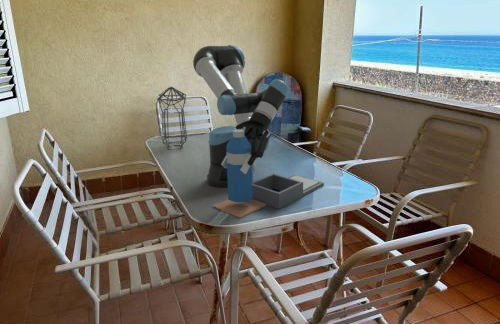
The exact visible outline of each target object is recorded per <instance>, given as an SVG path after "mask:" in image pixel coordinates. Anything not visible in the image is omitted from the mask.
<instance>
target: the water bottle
mask: <svg viewBox="0 0 500 324" xmlns="http://www.w3.org/2000/svg"><path fill="white" fill-rule="evenodd" d="M226 151H227V177H228V187H227V194H228V195H227V199H228V200H231V201H233V202H247V201H249V200H251V199H252V182H253V172H252V171H253V165H252V166H250V167H249V169H248V171H247V173H246V174H244V173H243V172H241V171H240V169H241V168H242V166H243V164H244V162H245V160H246V159H247V157H248V155H249V154H251V152H252V151H251V143H250V142H249V141H248V140H247V138H246V137H245V136H244V130H242V129H236V130H233V137H232V138H231V140H230V141H229V143H228V144H227V147H226ZM251 155H252V154H251Z"/></svg>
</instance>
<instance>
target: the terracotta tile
mask: <svg viewBox="0 0 500 324" xmlns="http://www.w3.org/2000/svg"><path fill="white" fill-rule="evenodd" d="M213 206H214V207H216V208H215V209H217V208H218V210H219V209H221V210H220V211H222V210H223V211H222V212H224V211H225V212H224V213H226V212H227V214H229V213H230V214H229V215H231V214H232V215H231V216H233V215H234V216H233V217H236V216H237V217H236V218H238V217H239V218H238V219H242V218H244V217H246V216H249V215H250V214H253V213H254V212H256V211H258V210H260V209H262V208H264V207H266V206H268V205H267V204H265V203H263V202H260V201H257V200H254V199H251V200H249V201H247V202H233V201H231V200H228V198H227V199H224V200H222V201H219V202H218V203H215V204H213V205H212V207H213ZM214 207H213V208H214Z"/></svg>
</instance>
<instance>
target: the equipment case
mask: <svg viewBox="0 0 500 324" xmlns="http://www.w3.org/2000/svg"><path fill="white" fill-rule="evenodd" d="M323 186H325V182H323V181H319V180H316V179H312V178H308V177H305V176H301V175H297V174H294V175H291V176H289V177H286V176H284V175H283V176H282V175H280V174H275V173H271V174H268V175H266V176H263V177H261V178H259V179H256V180H254V181H252V199H254V200H257V201H260V202H263V203H265V204H267V205H266V206H269V207H272V208H275V209H277V210H280V209H282V208H284V207H286V206H287V205H289V204H292V203H293V202H295V201H297V200H299V199H301V198H303V197H304V196H307V195H308V194H310V193H312V192H314V191H317V190H318V189H320V188H322V187H323ZM273 189H275V190H277V191H275V190H273Z"/></svg>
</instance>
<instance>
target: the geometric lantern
mask: <svg viewBox="0 0 500 324" xmlns="http://www.w3.org/2000/svg"><path fill="white" fill-rule="evenodd" d="M168 91H169V93H168ZM166 93H168V94H166ZM170 94H171V95H170ZM158 96H159V97H157V98H156V100H157V102H158V104H159V107H160V110H161V116H162V118H161V119H162V120H161V121H162V122H161V123H162V135H161V136H162V141H161V142H162V144H163V145H165V146H166V147H167V149H168V148H170V149H171V146H169V144H170V145H175V142H173V141H170V136H169V132H167V131H169V107H170V106H173V107H174V108H173V110H176V112H175V114H178V116H179V117H178V118H179V128H180V129H179V131H180V135H177V136H175V135H174V136H171V138H180V140H179V141H176V143H179V144H176V147H181V148H182V147H183V146H184V145H185V143H187V141H188V140H187V138H188V135H187V127H186V126H187V125H186V120H185V110H184V107H185V104H186V99H187V94H186V93H184V92H182V91H180V90H179V89H176V88H175V87H173V86H169V87H168V88H166V89H165V90H164V91H162V92H161V93H160V94H158ZM163 97H164V99H163ZM174 97H175V99H174ZM182 101H183V106H182V105H181V104H180V102H182ZM174 102H175V103H174ZM171 103H172V104H171ZM161 104H162V105H163V108H164V109H162V105H161ZM164 104H165V105H167V107H165V105H164ZM177 104H178V105H179V106H180V108H179V107H176V105H177ZM179 110H180V111H179ZM166 123H167V125H166ZM183 138H184V139H183ZM180 144H181V145H180ZM183 148H184V147H183Z"/></svg>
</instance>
